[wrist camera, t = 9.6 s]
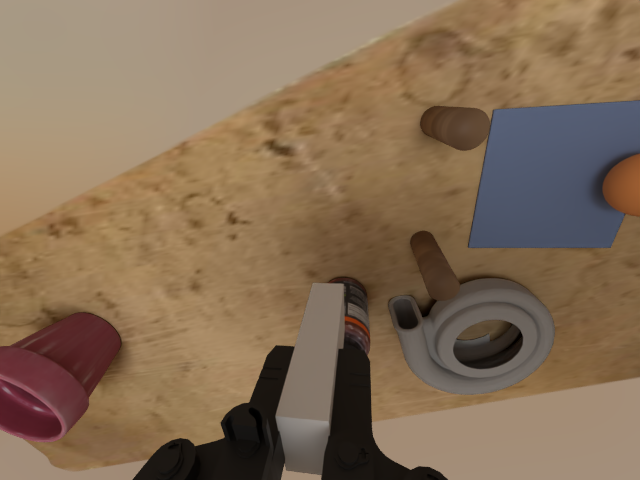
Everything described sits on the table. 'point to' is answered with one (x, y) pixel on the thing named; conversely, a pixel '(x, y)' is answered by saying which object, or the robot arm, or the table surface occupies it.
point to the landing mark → (553, 175)
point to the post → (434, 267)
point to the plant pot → (54, 376)
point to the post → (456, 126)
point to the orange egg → (624, 186)
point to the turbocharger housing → (471, 355)
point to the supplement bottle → (355, 315)
